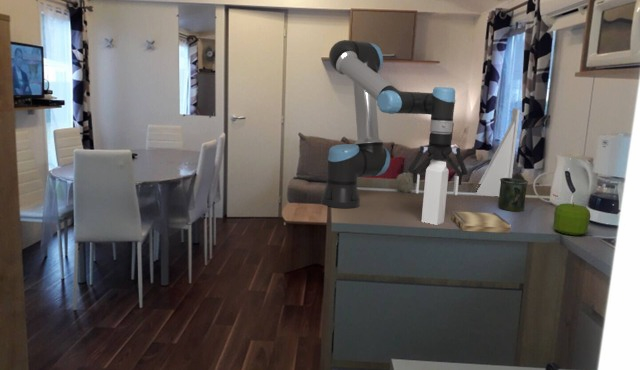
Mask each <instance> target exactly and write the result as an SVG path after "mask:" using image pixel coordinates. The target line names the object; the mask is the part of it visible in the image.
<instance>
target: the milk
mask: <svg viewBox="0 0 640 370" xmlns="http://www.w3.org/2000/svg"><path fill="white" fill-rule="evenodd" d="M449 173H450V172H449V168H448V167H447V161H444V160H434V159H432V160H431V161H429V165H428V166H427V167H426V169H425V176H424V177H425V178H424V179H425V180H424V189H423V190H424V191H423V200H422V210H421V211H422V212H421V223H424V222H425V223H424V224H428V223H430V225H433V224H434V225H435V226H438V225H441V224H443V223H444V222H445V215H446V205H447V204H446V203H447V193H448V181H449Z"/></svg>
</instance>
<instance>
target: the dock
mask: <svg viewBox="0 0 640 370" xmlns="http://www.w3.org/2000/svg"><path fill="white" fill-rule="evenodd" d="M450 220H451V221H452V222H455V225H456V226H458V227H459V229H460V230H461V232H462V231H463V232H477V233H479V232H480V233H500V234H510V233H511V232H510V231H511V226H512V224H511V223H510V222H508V221H507V220H505V219H504V218H503V217H501V216H500V215H499V214H497V213H496V212H471V211H455V210H452V211H451V219H450Z"/></svg>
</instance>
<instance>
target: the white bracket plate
mask: <svg viewBox="0 0 640 370" xmlns="http://www.w3.org/2000/svg"><path fill="white" fill-rule="evenodd" d="M520 112H521V109H519V108H512V112H511V120H510V123H509V126H508V127H507V130H506V131H505V133H504V135H503V137H502V139H501V141H500V143H499V145H498V147H497V148H496V150H495V151H494V154H493V155H492V158H491V160H490V161H489V163H488V165H487V167H486V169H485V171H484V173H483V175H482V177H481V179H480V180H479V182H478V184H481V185H480V187H479V188H478V190H477V192H475V195H476V194H477V195H476V196H484V195H485V197H487V196H488V197H494V196H498V197H497V198H499V193H500V185H501V181H500V179H501V178H513V174H514V173H513V172H514V171H513V170H514V163H515V157H516V156H515V155H516V154H515V153H516V146H517V137H518V130H519V120H520Z"/></svg>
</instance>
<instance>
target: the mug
mask: <svg viewBox="0 0 640 370" xmlns="http://www.w3.org/2000/svg"><path fill="white" fill-rule="evenodd" d="M500 181H501V185H500V193H499V197H498V205H497V207H498V208H499V209H500V210H503V211H508V212H522V211H524V209H525V203H526V195H527V186H528V183H529V181H527V180H525V179H522V178H521V179H520V178H514V177H512V178H501V179H500Z"/></svg>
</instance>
